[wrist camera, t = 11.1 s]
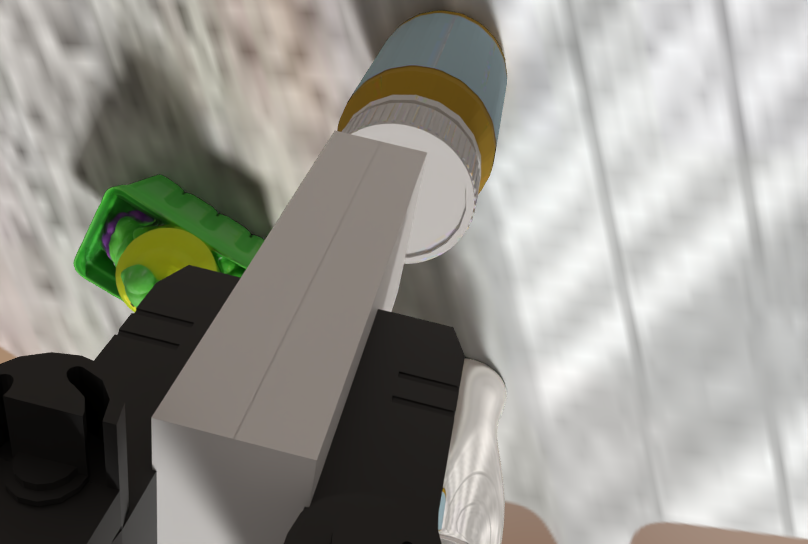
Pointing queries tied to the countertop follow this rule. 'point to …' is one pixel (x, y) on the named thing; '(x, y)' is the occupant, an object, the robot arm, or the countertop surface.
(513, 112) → the countertop surface
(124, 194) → the fruit basket
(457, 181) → the bottle
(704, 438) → the countertop surface
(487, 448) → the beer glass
